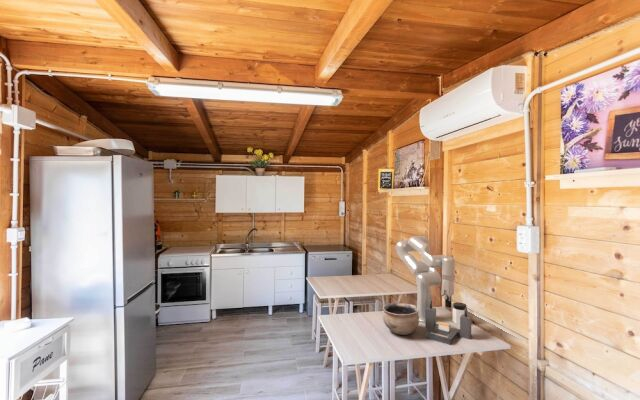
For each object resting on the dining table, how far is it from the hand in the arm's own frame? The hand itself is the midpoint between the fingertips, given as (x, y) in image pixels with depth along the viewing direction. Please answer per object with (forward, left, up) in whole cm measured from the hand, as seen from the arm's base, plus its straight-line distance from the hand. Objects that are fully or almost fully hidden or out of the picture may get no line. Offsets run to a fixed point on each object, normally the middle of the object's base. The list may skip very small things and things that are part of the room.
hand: (448, 307), depth 196 cm
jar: (+1, +20, -15) cm, 25 cm away
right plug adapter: (+10, -1, -15) cm, 18 cm away
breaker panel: (0, -9, -15) cm, 18 cm away
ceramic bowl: (-22, -20, -15) cm, 33 cm away
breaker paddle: (0, -7, -12) cm, 14 cm away
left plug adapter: (-11, -1, -15) cm, 18 cm away
